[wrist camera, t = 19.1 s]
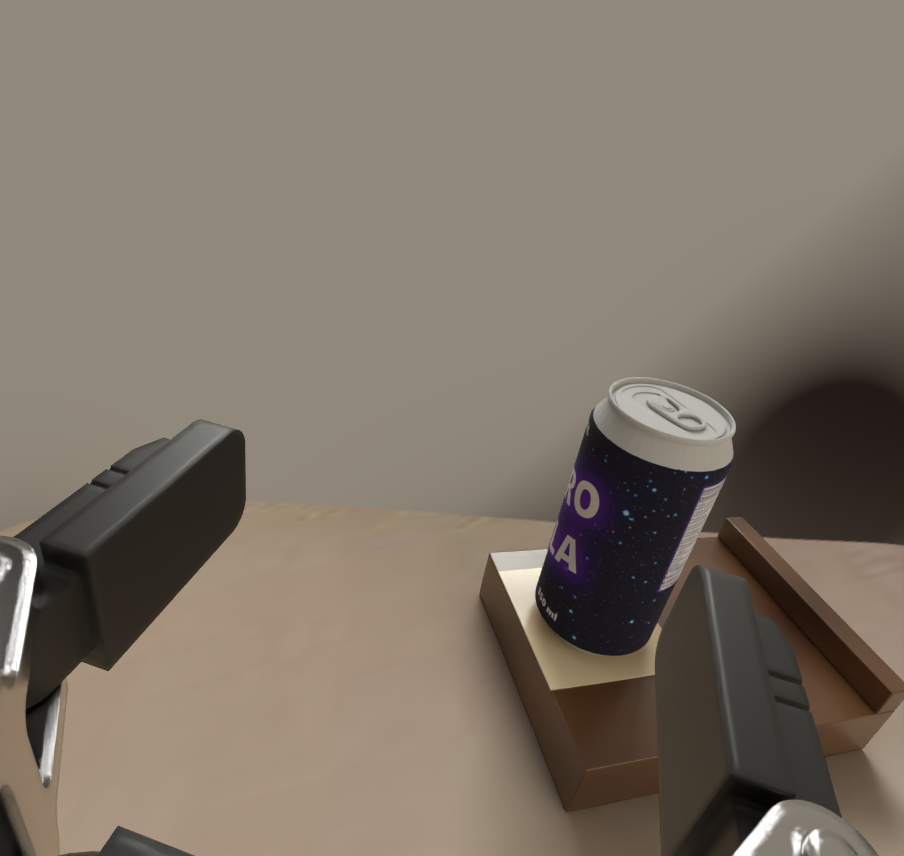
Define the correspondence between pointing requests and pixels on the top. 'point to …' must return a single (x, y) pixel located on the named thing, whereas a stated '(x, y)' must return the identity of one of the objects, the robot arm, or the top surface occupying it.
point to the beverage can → (632, 512)
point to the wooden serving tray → (633, 675)
